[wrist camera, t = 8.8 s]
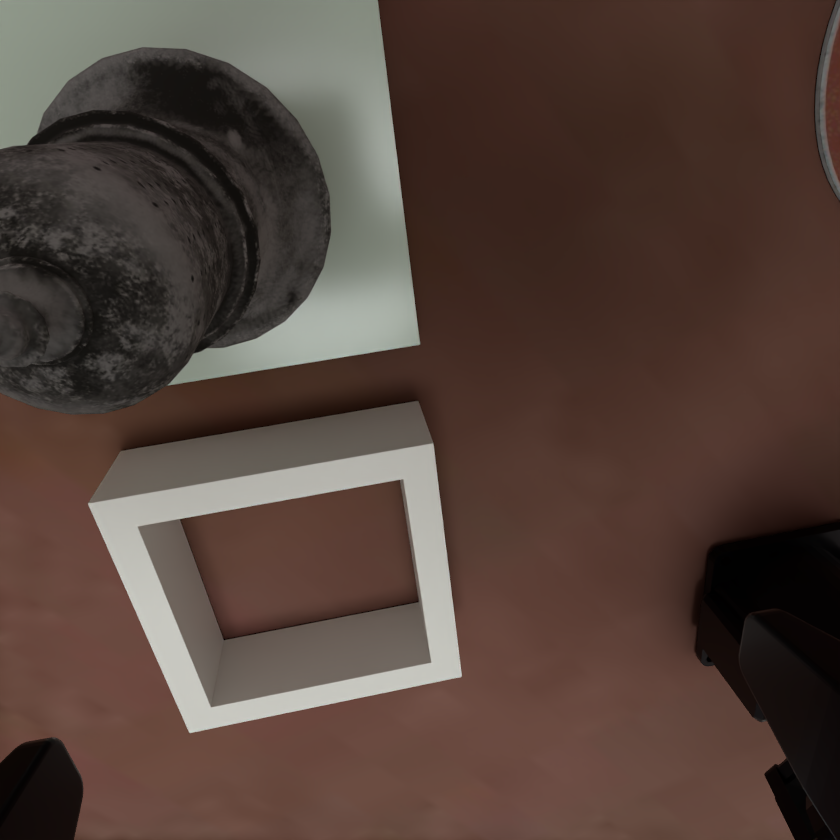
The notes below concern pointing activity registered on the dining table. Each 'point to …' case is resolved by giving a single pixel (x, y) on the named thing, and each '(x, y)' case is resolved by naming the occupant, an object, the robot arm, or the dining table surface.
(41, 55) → the green tile
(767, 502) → the dining table surface
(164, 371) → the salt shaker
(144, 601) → the shaker holder
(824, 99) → the canned food
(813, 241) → the dining table surface
